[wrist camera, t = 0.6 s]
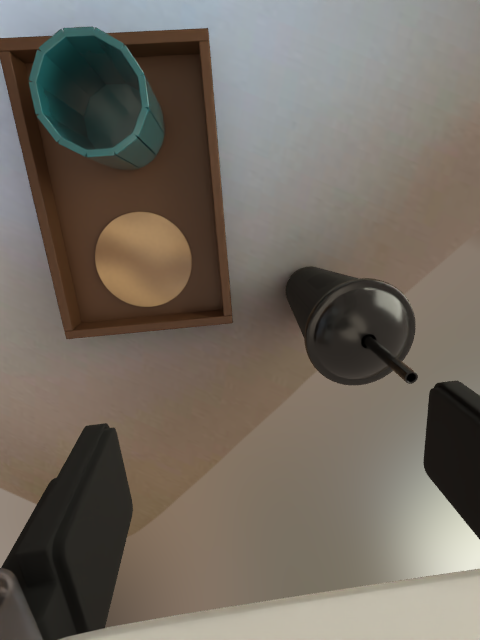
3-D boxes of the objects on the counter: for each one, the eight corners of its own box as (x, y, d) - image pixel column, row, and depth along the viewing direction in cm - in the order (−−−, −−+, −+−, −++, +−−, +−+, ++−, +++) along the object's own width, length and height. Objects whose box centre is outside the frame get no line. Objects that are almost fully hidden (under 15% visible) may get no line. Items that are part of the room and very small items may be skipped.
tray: (15, 54, 29) (-6, 38, 27) (208, 45, 30) (208, 28, 27) (77, 328, 37) (65, 339, 34) (230, 314, 38) (232, 323, 35)
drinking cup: (261, 312, 38) (315, 422, 19) (287, 242, 36) (378, 284, 17) (327, 333, 39) (439, 455, 20) (356, 266, 37) (511, 331, 18)
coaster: (87, 215, 33) (86, 215, 33) (186, 207, 34) (186, 208, 33) (105, 310, 36) (104, 311, 35) (196, 301, 36) (196, 302, 36)
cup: (74, 82, 30) (16, 29, 21) (158, 78, 30) (138, 24, 21) (91, 172, 32) (45, 160, 23) (169, 167, 32) (155, 152, 23)
